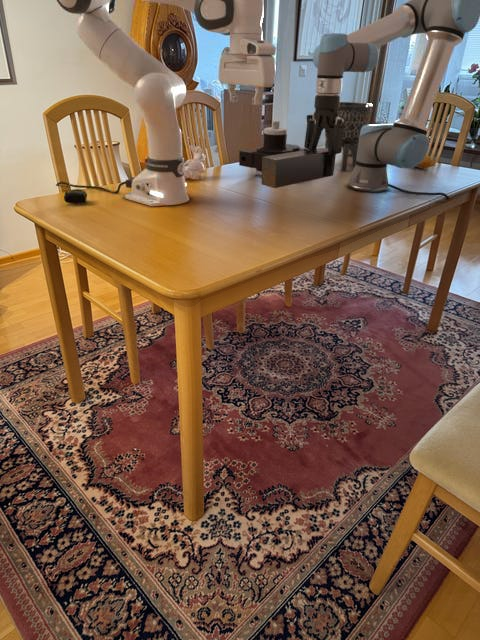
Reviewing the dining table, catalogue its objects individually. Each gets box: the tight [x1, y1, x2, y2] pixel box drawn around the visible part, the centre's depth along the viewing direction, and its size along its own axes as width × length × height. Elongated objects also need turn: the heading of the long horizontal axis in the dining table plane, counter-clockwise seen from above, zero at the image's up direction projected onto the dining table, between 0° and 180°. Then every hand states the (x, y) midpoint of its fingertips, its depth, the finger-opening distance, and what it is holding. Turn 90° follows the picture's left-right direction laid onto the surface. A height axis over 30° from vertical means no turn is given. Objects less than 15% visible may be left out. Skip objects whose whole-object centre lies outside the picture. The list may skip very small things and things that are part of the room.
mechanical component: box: [238, 120, 308, 176], centre depth 191 cm, size 22×21×30 cm
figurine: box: [184, 144, 206, 180], centre depth 182 cm, size 8×15×13 cm, turn 145°
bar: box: [260, 147, 337, 189], centre depth 139 cm, size 27×6×8 cm, turn 131°
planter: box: [324, 101, 374, 172], centre depth 204 cm, size 20×20×26 cm
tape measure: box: [63, 188, 88, 205], centre depth 151 cm, size 7×7×4 cm
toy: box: [415, 154, 437, 169], centre depth 213 cm, size 11×6×15 cm
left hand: (244, 103), depth 130 cm, fingers open, 8 cm apart
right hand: (319, 173), depth 147 cm, fingers closed on bar, 6 cm apart
